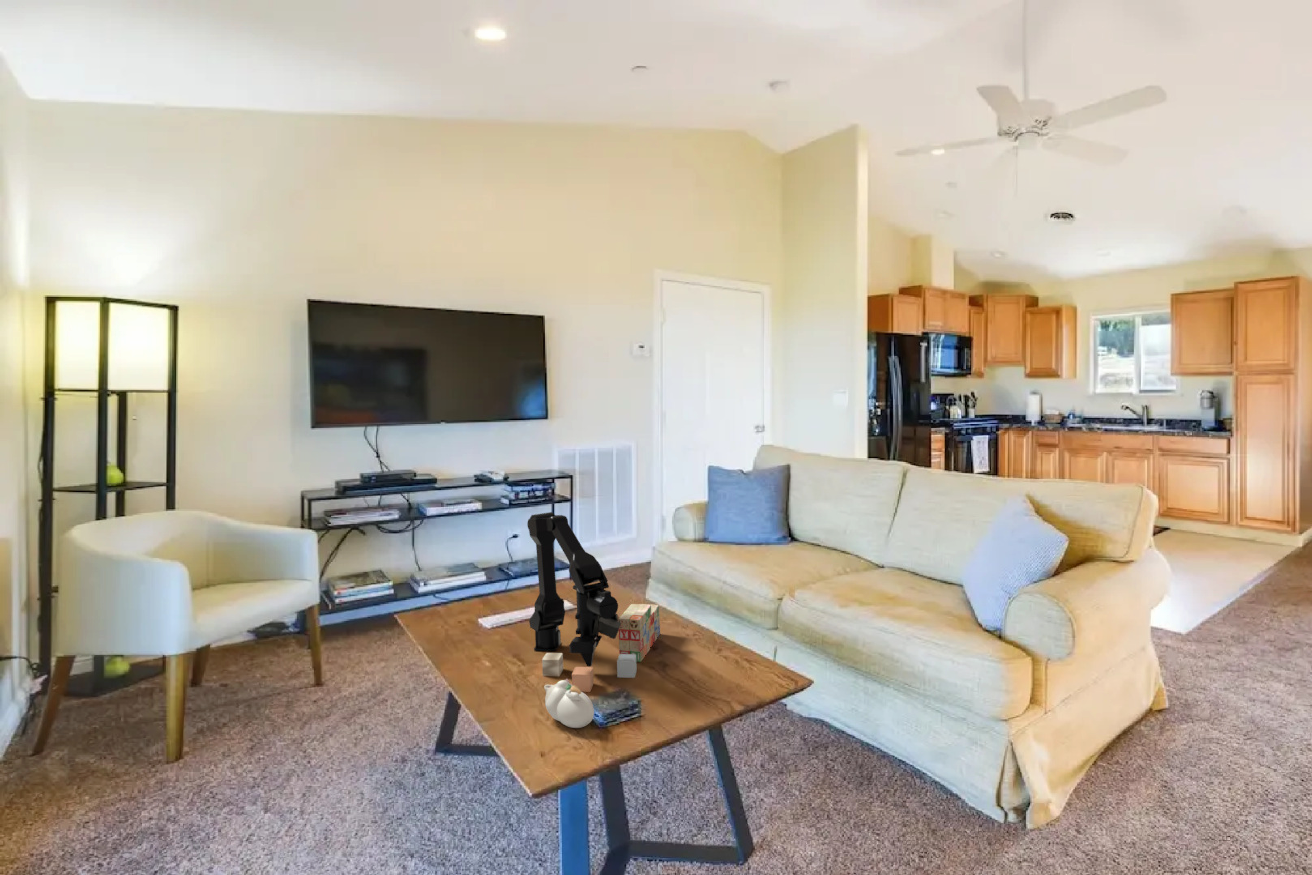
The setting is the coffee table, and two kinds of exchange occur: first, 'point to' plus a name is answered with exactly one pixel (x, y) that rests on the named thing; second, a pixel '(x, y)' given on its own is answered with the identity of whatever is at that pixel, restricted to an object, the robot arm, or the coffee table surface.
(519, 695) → the coffee table surface
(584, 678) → the terracotta block
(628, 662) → the blue grey block
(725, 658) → the coffee table surface
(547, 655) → the cream block
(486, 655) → the coffee table surface
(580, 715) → the cat figurine
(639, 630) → the stack of blocks
